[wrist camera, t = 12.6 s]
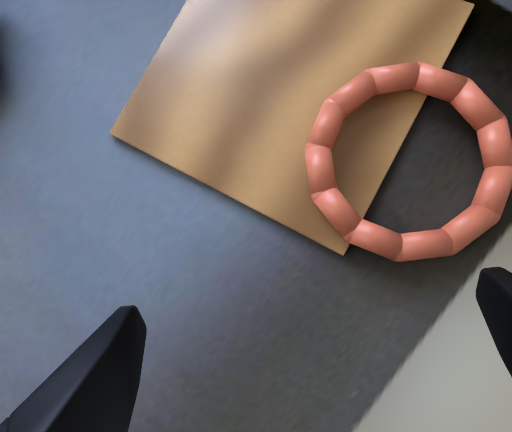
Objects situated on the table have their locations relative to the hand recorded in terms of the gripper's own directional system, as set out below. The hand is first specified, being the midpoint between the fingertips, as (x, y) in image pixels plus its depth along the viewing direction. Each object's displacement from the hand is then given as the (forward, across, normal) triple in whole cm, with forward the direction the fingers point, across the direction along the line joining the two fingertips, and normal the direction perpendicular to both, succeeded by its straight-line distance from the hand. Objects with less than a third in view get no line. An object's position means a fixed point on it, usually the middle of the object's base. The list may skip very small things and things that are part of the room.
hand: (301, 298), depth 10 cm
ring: (+11, -1, +2) cm, 11 cm away
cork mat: (+16, 0, -2) cm, 16 cm away
